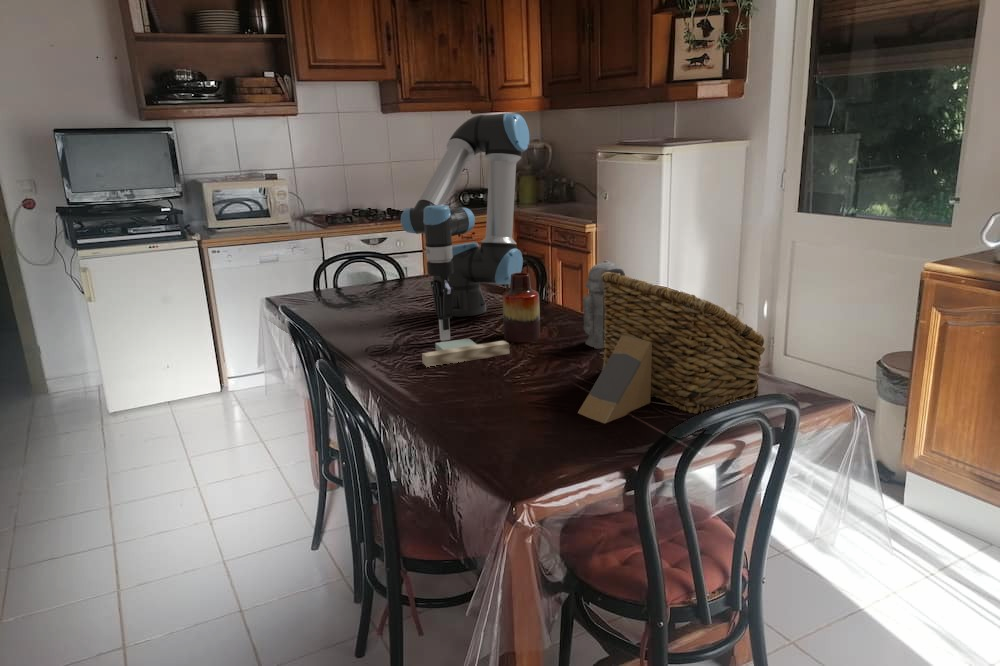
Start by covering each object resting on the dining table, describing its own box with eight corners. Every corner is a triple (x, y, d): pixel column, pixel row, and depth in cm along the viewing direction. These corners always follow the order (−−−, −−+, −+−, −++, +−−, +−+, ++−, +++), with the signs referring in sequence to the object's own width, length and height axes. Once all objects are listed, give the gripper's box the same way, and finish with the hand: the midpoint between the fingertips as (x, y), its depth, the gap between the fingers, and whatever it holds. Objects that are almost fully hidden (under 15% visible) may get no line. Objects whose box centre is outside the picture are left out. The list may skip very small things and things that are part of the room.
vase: (547, 340, 213) (546, 273, 208) (523, 348, 205) (521, 278, 200) (520, 334, 220) (518, 269, 215) (496, 342, 212) (493, 275, 207)
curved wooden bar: (504, 354, 201) (503, 340, 200) (509, 357, 197) (509, 343, 196) (422, 367, 191) (421, 353, 190) (427, 371, 188) (426, 356, 187)
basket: (782, 397, 160) (790, 279, 153) (693, 420, 149) (697, 294, 142) (675, 358, 192) (678, 258, 185) (595, 374, 181) (595, 269, 174)
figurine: (635, 346, 203) (636, 259, 197) (595, 354, 197) (594, 265, 190) (614, 339, 212) (614, 255, 205) (574, 347, 205) (573, 260, 198)
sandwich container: (574, 414, 155) (573, 348, 151) (621, 396, 165) (621, 334, 161) (604, 425, 149) (604, 356, 145) (651, 406, 158) (652, 341, 154)
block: (469, 351, 206) (469, 338, 205) (478, 359, 198) (478, 345, 197) (436, 356, 202) (435, 342, 201) (444, 364, 195) (443, 350, 194)
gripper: (420, 258, 208) (426, 336, 214) (435, 265, 197) (440, 347, 203) (444, 255, 211) (449, 332, 217) (460, 262, 199) (465, 342, 206)
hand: (445, 339), depth 210 cm, fingers closed
